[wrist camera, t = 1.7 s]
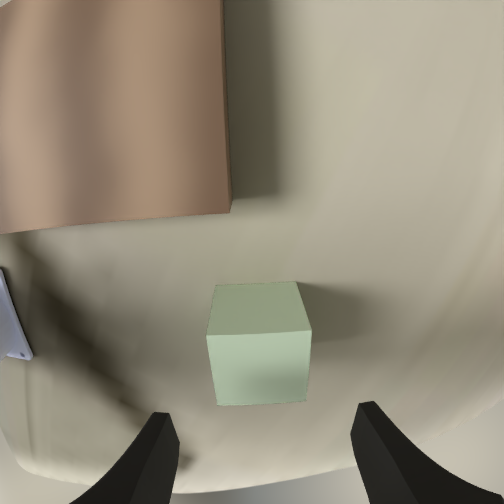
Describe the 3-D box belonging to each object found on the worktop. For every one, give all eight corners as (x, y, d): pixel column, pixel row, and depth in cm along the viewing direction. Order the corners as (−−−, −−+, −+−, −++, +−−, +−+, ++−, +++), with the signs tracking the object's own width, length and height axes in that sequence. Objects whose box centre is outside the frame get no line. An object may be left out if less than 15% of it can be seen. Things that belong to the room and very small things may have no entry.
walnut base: (20, 221, 16) (-9, 235, 13) (16, 23, 11) (-10, 13, 8) (232, 200, 16) (229, 213, 13) (222, -37, 11) (218, -65, 8)
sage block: (222, 348, 19) (217, 405, 14) (215, 284, 18) (205, 335, 13) (293, 344, 19) (306, 401, 14) (295, 281, 18) (311, 330, 13)
